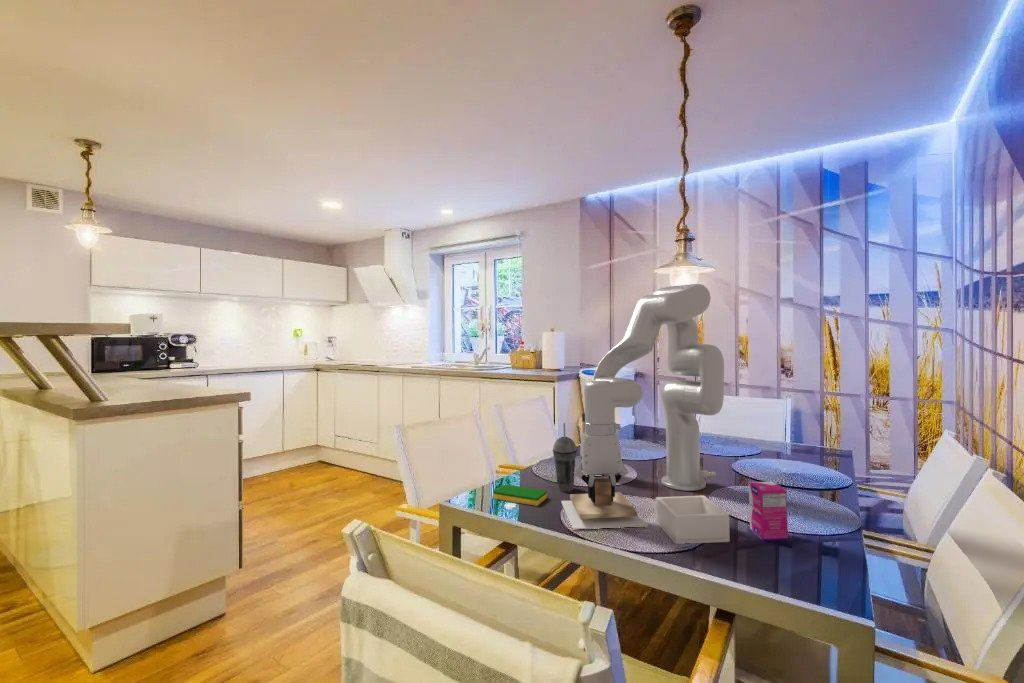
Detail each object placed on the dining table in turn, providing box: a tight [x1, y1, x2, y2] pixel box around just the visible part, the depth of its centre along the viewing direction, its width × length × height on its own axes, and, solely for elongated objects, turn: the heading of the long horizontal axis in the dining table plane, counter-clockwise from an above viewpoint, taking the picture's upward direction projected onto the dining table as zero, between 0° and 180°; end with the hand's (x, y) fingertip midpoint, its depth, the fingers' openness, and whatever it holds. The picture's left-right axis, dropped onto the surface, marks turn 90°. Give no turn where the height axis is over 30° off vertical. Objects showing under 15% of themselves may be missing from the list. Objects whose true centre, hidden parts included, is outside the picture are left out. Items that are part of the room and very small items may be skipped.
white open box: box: [655, 495, 731, 545], centre depth 106 cm, size 12×12×6 cm
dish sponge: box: [493, 484, 548, 507], centre depth 130 cm, size 7×14×2 cm, turn 62°
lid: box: [569, 476, 638, 519], centre depth 117 cm, size 14×14×7 cm
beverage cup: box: [552, 422, 578, 492], centre depth 136 cm, size 7×7×20 cm
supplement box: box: [748, 480, 789, 542], centre depth 102 cm, size 6×6×12 cm
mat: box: [560, 499, 649, 530], centre depth 117 cm, size 18×18×1 cm
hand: (601, 499), depth 117 cm, fingers closed on lid, 3 cm apart
